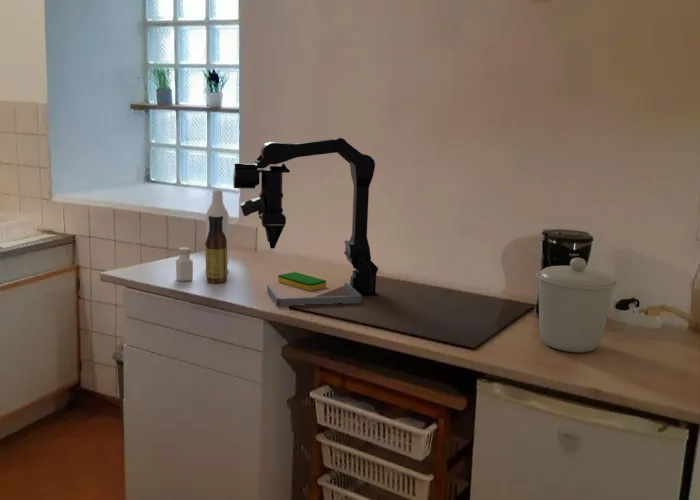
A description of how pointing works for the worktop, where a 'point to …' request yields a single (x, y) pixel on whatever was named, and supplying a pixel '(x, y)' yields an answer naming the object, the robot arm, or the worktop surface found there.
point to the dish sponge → (302, 281)
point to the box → (317, 298)
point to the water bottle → (219, 209)
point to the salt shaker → (184, 265)
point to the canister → (574, 305)
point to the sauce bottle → (216, 251)
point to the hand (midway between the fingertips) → (271, 245)
